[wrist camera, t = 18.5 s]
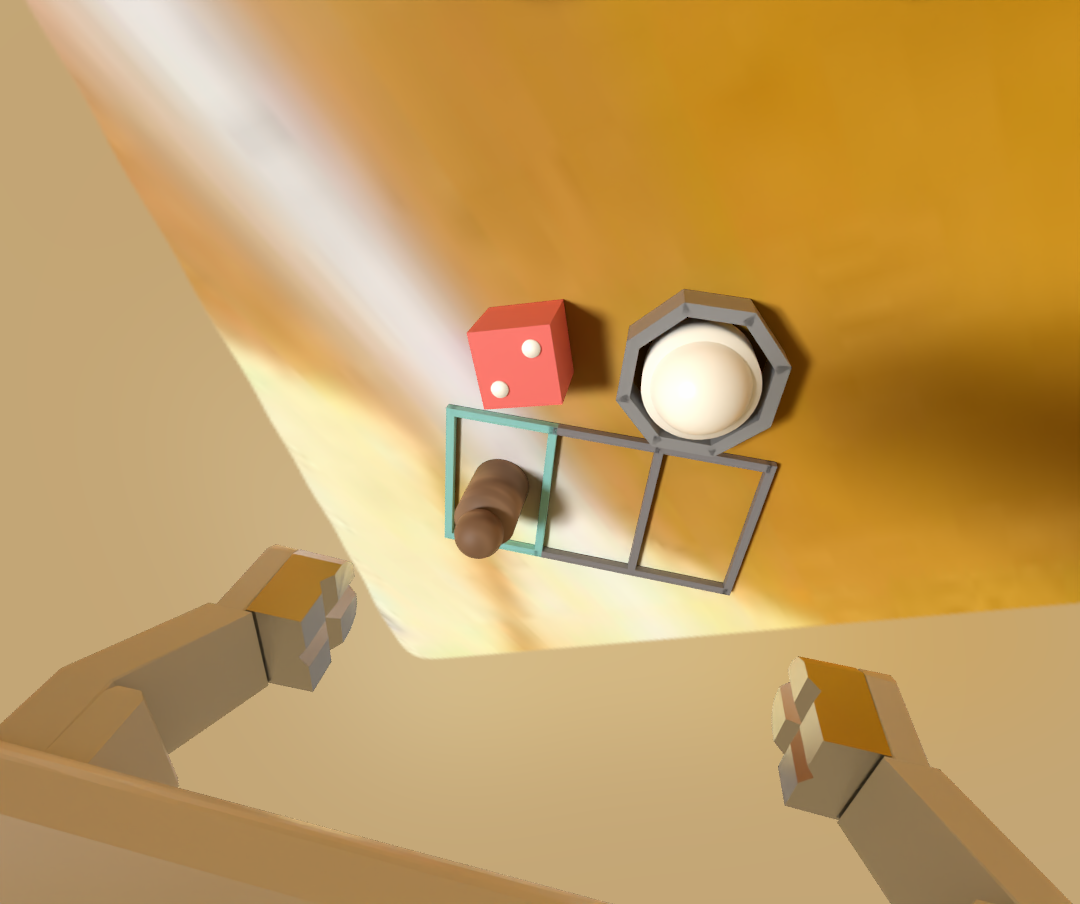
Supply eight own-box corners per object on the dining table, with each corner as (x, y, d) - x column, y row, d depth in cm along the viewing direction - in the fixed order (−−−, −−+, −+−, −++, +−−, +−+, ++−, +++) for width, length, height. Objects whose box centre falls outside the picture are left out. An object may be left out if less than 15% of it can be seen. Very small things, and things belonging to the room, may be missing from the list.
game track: (775, 462, 40) (777, 466, 40) (728, 590, 47) (729, 595, 46) (448, 404, 43) (446, 407, 42) (447, 532, 49) (444, 537, 49)
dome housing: (798, 305, 35) (807, 320, 32) (752, 443, 40) (757, 465, 38) (637, 282, 36) (635, 294, 34) (612, 419, 41) (609, 438, 39)
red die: (563, 299, 37) (549, 325, 33) (573, 372, 40) (562, 405, 35) (489, 307, 39) (466, 333, 34) (503, 377, 41) (483, 410, 37)
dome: (769, 323, 36) (785, 359, 31) (738, 423, 39) (748, 470, 34) (654, 305, 36) (652, 338, 31) (634, 405, 40) (629, 449, 35)
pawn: (531, 464, 44) (506, 530, 37) (526, 511, 47) (502, 580, 40) (475, 454, 45) (440, 517, 38) (473, 500, 47) (440, 567, 40)
